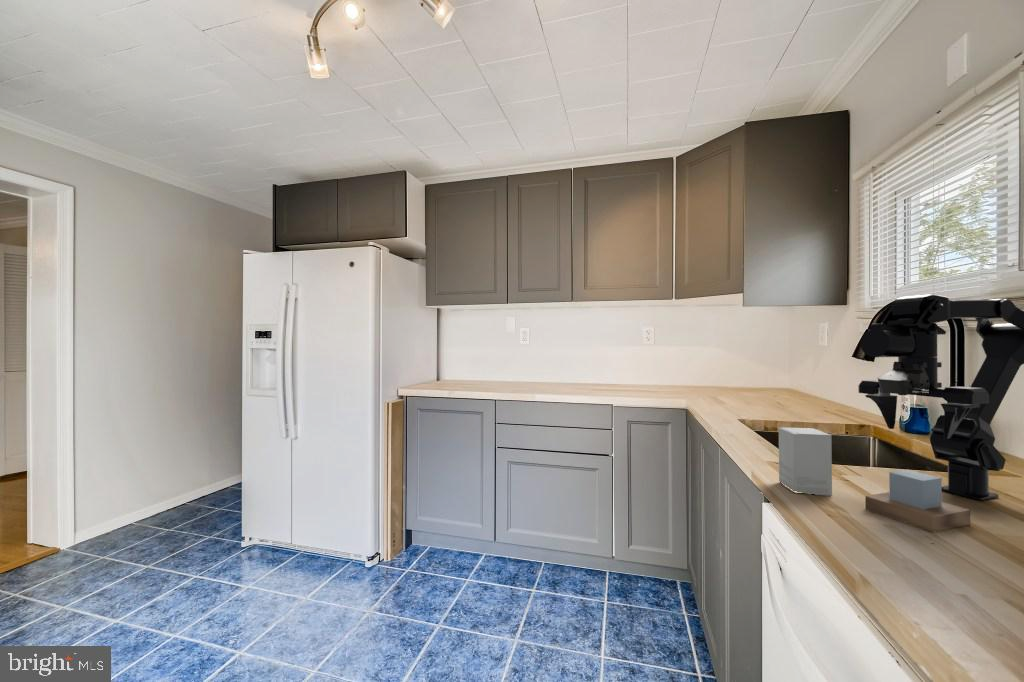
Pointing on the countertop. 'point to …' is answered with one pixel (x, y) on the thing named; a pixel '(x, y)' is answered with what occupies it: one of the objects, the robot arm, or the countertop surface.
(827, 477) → the supplement box
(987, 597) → the countertop surface
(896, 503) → the walnut slab
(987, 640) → the countertop surface
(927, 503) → the slate block
